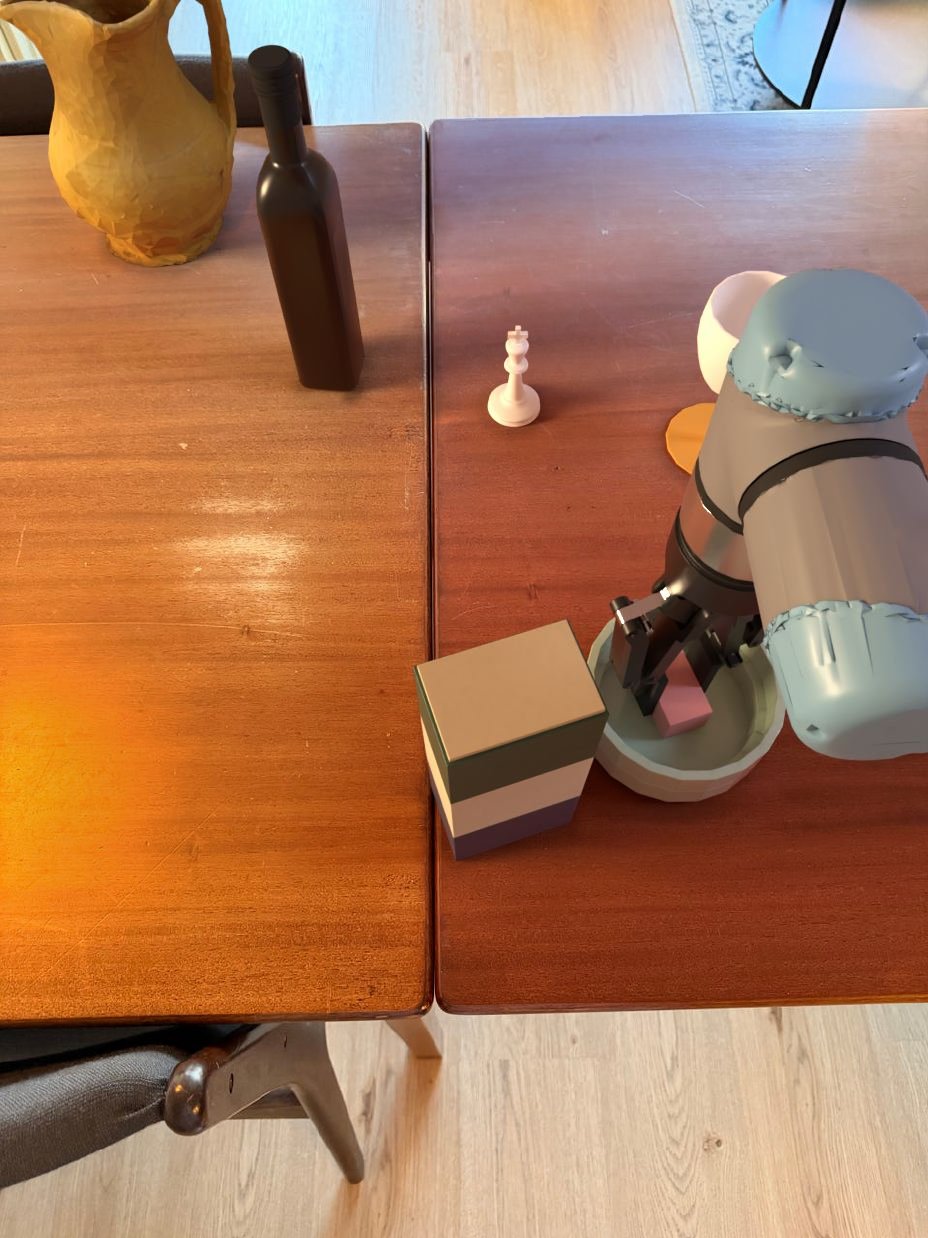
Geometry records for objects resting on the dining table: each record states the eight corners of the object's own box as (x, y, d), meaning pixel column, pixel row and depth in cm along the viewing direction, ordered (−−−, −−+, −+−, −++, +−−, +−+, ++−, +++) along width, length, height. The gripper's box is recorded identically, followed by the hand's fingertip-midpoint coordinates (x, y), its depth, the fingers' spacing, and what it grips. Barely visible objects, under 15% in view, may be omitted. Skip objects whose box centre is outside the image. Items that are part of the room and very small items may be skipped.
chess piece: (541, 426, 84) (548, 348, 75) (488, 427, 84) (489, 349, 75) (538, 385, 86) (546, 305, 77) (487, 386, 86) (488, 306, 77)
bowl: (796, 769, 69) (823, 742, 63) (621, 829, 67) (633, 807, 61) (713, 610, 75) (731, 574, 70) (550, 661, 73) (556, 628, 68)
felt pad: (604, 712, 47) (605, 709, 47) (449, 762, 46) (449, 760, 46) (565, 622, 50) (566, 618, 50) (417, 668, 49) (417, 665, 48)
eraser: (704, 726, 69) (713, 711, 67) (662, 739, 69) (670, 726, 66) (666, 647, 72) (674, 631, 70) (626, 660, 72) (632, 644, 69)
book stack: (570, 822, 67) (610, 714, 47) (455, 861, 66) (446, 767, 46) (542, 749, 70) (567, 618, 50) (430, 785, 68) (412, 665, 49)
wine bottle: (297, 389, 86) (217, 79, 60) (310, 345, 89) (239, 28, 62) (356, 395, 86) (301, 85, 59) (367, 350, 88) (319, 34, 62)
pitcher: (99, 168, 101) (6, -86, 78) (266, 179, 101) (222, -71, 79) (64, 282, 93) (-51, 38, 71) (244, 293, 94) (188, 54, 71)
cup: (762, 489, 80) (824, 361, 66) (660, 473, 81) (699, 343, 67) (767, 411, 84) (826, 274, 70) (670, 397, 85) (709, 259, 71)
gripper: (845, 436, 52) (740, 620, 73) (579, 513, 50) (549, 681, 71) (915, 540, 49) (784, 702, 70) (634, 628, 47) (585, 768, 68)
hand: (666, 691), depth 70 cm, fingers closed on eraser, 3 cm apart
